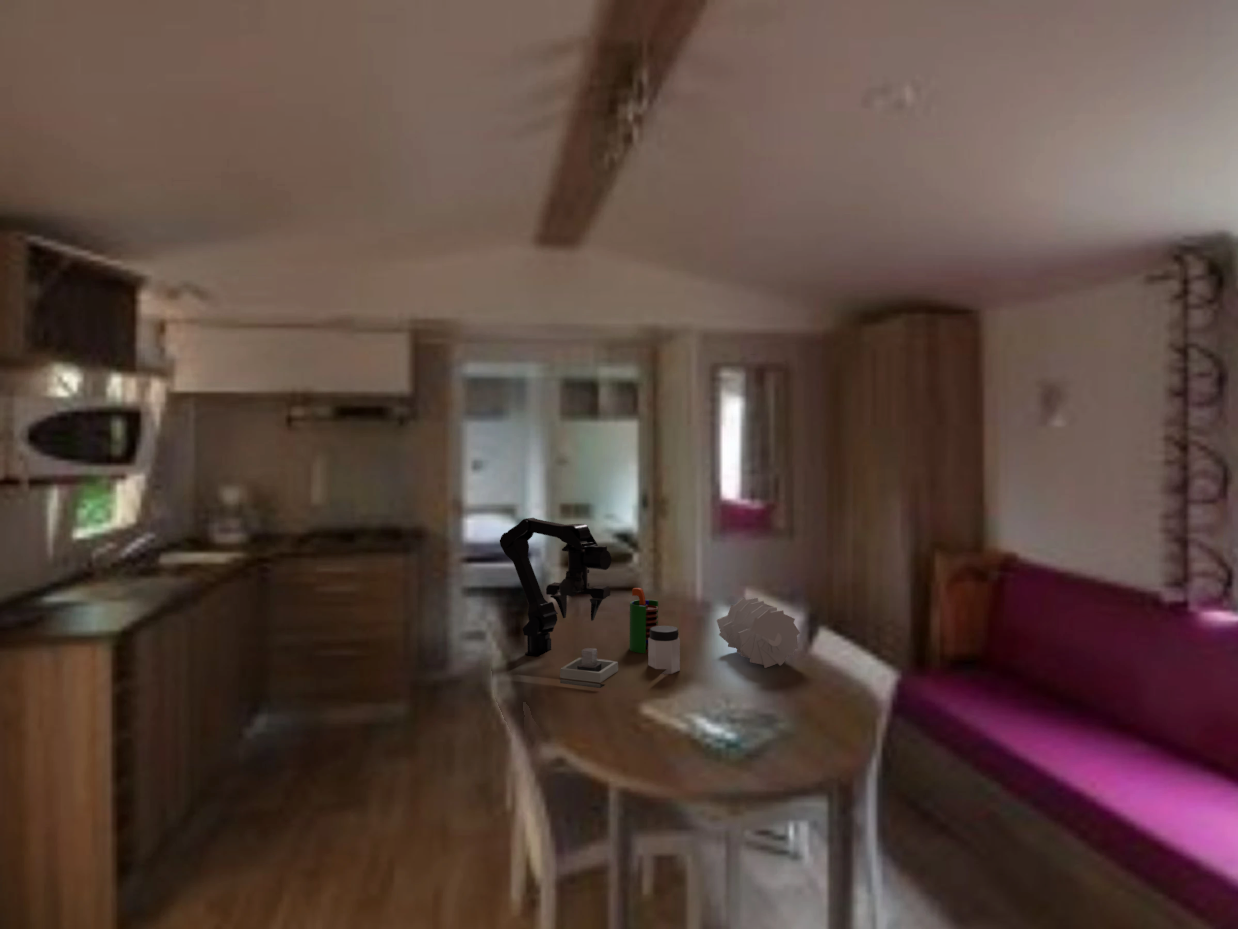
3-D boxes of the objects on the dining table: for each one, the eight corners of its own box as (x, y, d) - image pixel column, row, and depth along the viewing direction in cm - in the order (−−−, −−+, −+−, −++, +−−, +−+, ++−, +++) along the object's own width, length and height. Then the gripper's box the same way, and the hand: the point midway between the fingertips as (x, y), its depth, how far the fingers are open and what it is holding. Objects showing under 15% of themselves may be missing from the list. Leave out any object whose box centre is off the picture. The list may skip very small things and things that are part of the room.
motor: (655, 658, 260) (655, 592, 259) (626, 657, 261) (626, 591, 260) (660, 650, 269) (660, 586, 269) (632, 648, 271) (632, 585, 270)
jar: (684, 672, 245) (684, 630, 244) (659, 676, 241) (659, 633, 241) (669, 664, 253) (668, 624, 252) (644, 668, 249) (644, 627, 249)
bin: (560, 683, 235) (560, 668, 235) (579, 671, 246) (579, 657, 246) (600, 688, 231) (600, 673, 230) (618, 676, 242) (618, 661, 241)
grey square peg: (577, 678, 237) (577, 651, 237) (585, 674, 242) (584, 646, 241) (594, 680, 235) (593, 652, 235) (601, 675, 240) (601, 648, 239)
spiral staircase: (754, 661, 270) (790, 680, 246) (706, 640, 266) (737, 657, 242) (777, 607, 272) (814, 620, 248) (729, 585, 268) (762, 596, 244)
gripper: (536, 569, 252) (537, 622, 253) (595, 573, 245) (595, 627, 246) (554, 563, 263) (554, 614, 263) (610, 567, 255) (611, 619, 256)
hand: (578, 619), depth 257 cm, fingers open, 9 cm apart
